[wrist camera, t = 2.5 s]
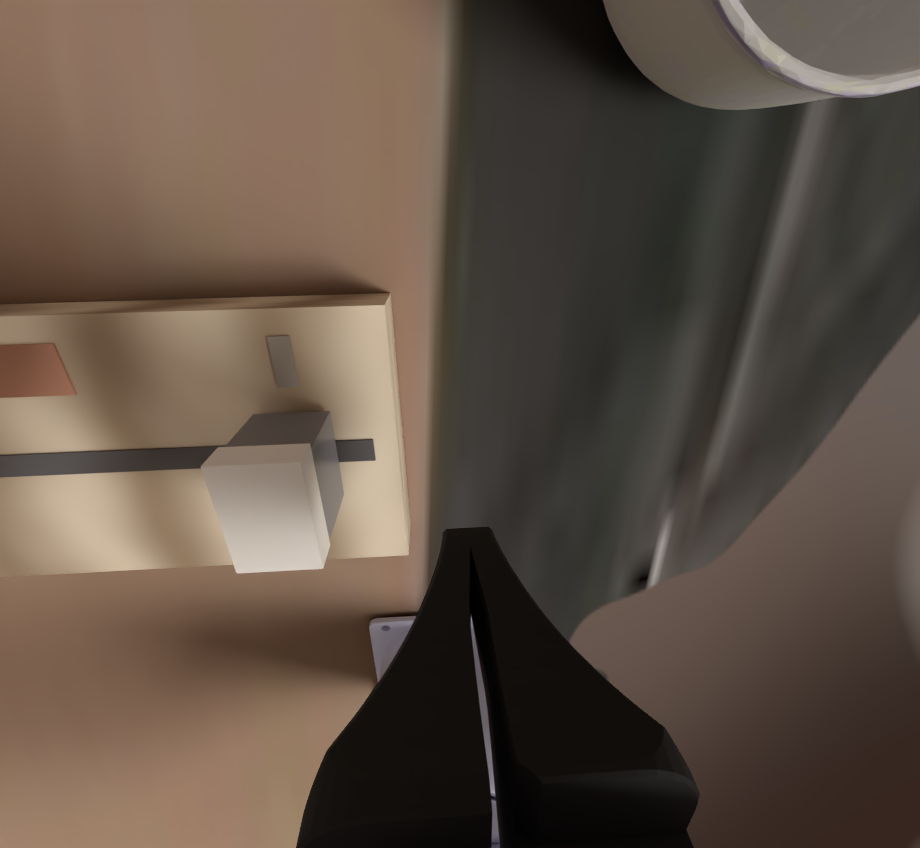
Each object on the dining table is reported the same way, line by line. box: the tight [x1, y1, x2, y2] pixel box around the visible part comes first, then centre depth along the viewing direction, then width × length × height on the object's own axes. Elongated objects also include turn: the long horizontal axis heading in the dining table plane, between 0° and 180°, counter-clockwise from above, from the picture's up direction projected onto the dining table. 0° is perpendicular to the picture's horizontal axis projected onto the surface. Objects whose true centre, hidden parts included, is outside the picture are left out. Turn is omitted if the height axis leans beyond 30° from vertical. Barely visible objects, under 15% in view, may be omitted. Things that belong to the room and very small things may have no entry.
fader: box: [201, 411, 344, 573], centre depth 16 cm, size 3×4×4 cm
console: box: [0, 293, 411, 577], centre depth 19 cm, size 20×12×3 cm, turn 91°
